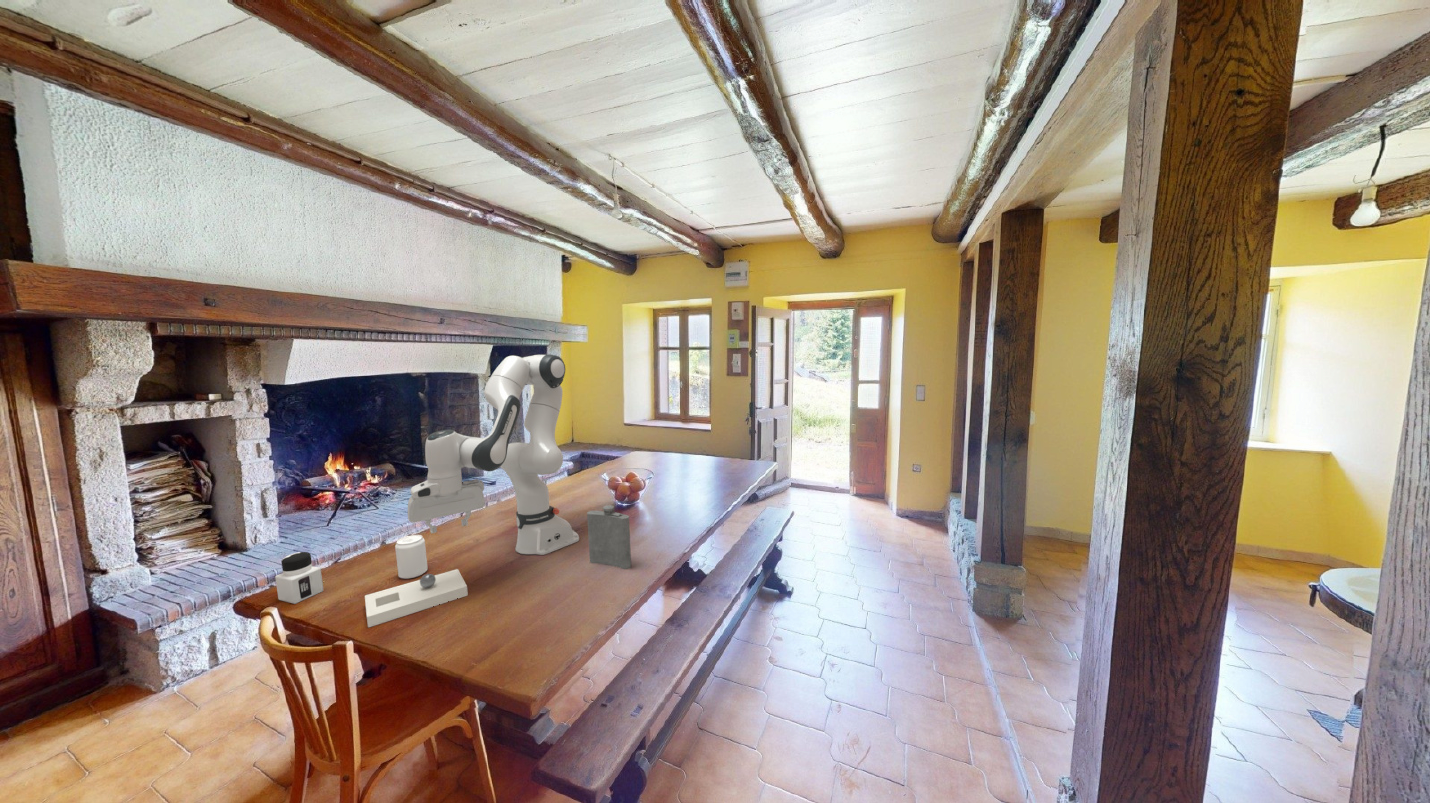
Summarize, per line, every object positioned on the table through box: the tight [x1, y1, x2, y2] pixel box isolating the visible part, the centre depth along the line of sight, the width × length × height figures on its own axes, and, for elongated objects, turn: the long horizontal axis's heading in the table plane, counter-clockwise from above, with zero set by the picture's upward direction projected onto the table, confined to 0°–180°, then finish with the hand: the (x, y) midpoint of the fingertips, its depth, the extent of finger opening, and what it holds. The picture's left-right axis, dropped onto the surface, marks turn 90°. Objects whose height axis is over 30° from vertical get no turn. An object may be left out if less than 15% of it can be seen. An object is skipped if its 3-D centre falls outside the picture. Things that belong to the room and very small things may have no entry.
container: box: [274, 551, 324, 605], centre depth 138 cm, size 8×8×13 cm
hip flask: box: [586, 504, 632, 570], centre depth 155 cm, size 16×4×20 cm, turn 69°
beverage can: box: [394, 534, 428, 579], centre depth 150 cm, size 8×8×12 cm
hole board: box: [364, 568, 469, 628], centre depth 135 cm, size 24×14×3 cm, turn 129°
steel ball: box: [419, 573, 436, 588], centre depth 136 cm, size 4×4×4 cm
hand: (449, 528), depth 139 cm, fingers open, 7 cm apart
